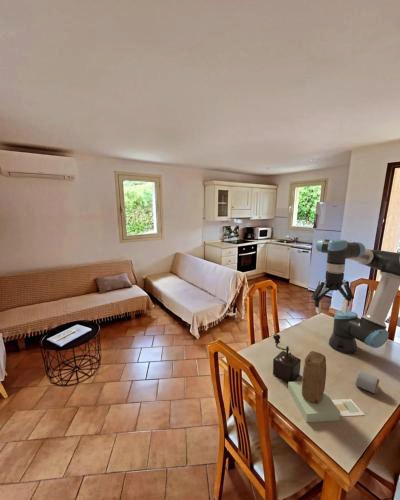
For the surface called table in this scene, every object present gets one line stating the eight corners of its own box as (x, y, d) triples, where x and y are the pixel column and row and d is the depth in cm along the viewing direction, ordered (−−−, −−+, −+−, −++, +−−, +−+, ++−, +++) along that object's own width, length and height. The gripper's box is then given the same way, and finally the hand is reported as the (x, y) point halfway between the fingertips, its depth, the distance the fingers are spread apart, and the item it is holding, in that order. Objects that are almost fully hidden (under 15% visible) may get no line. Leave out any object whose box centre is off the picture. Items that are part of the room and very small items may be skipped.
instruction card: (350, 399, 100) (350, 398, 100) (364, 415, 92) (364, 414, 92) (329, 400, 100) (329, 399, 100) (341, 416, 92) (341, 416, 92)
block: (317, 408, 92) (321, 365, 88) (299, 397, 97) (302, 356, 93) (326, 393, 99) (330, 353, 95) (309, 384, 104) (312, 346, 101)
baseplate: (315, 387, 107) (316, 380, 106) (339, 420, 90) (340, 411, 90) (287, 389, 107) (288, 381, 106) (306, 422, 90) (306, 414, 89)
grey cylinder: (376, 398, 101) (378, 383, 100) (354, 388, 106) (356, 374, 105) (378, 385, 108) (380, 371, 107) (358, 376, 114) (360, 363, 113)
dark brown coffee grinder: (301, 374, 116) (303, 343, 113) (291, 385, 109) (293, 353, 105) (274, 360, 127) (275, 331, 124) (263, 369, 120) (264, 339, 117)
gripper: (314, 274, 102) (310, 317, 106) (365, 272, 103) (360, 315, 107) (305, 270, 109) (302, 310, 113) (354, 268, 110) (349, 308, 114)
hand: (331, 312), depth 110 cm, fingers open, 13 cm apart
